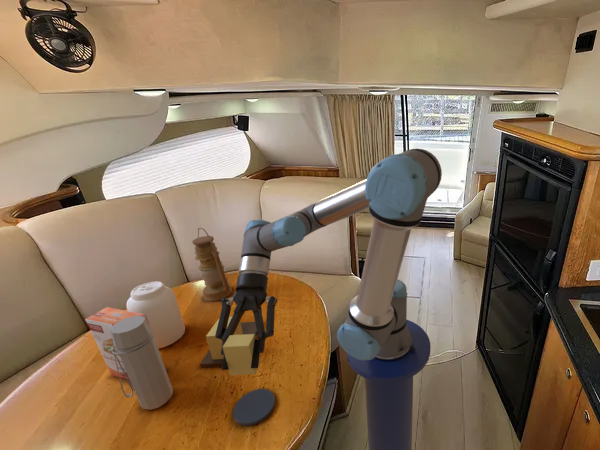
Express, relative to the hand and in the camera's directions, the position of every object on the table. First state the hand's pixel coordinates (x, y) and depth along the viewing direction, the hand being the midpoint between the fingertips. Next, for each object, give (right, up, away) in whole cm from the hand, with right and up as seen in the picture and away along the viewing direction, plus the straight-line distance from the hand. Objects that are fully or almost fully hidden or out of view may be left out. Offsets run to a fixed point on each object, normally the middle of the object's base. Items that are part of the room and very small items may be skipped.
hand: (240, 368), depth 75 cm
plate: (+1, -13, +6) cm, 15 cm away
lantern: (-37, +6, +55) cm, 67 cm away
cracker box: (-39, -9, +17) cm, 43 cm away
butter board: (-17, -5, +28) cm, 33 cm away
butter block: (-16, -5, +25) cm, 30 cm away
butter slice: (0, -1, +3) cm, 4 cm away
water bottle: (-27, -13, +8) cm, 31 cm away
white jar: (-42, -4, +31) cm, 52 cm away
